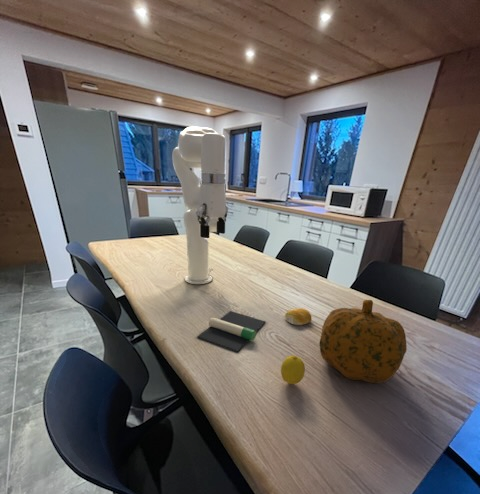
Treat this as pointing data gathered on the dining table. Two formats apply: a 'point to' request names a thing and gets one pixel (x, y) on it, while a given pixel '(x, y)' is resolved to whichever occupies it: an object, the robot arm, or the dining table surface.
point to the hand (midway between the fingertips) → (213, 235)
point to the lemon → (292, 369)
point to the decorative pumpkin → (363, 343)
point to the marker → (233, 328)
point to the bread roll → (298, 316)
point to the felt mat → (228, 338)
